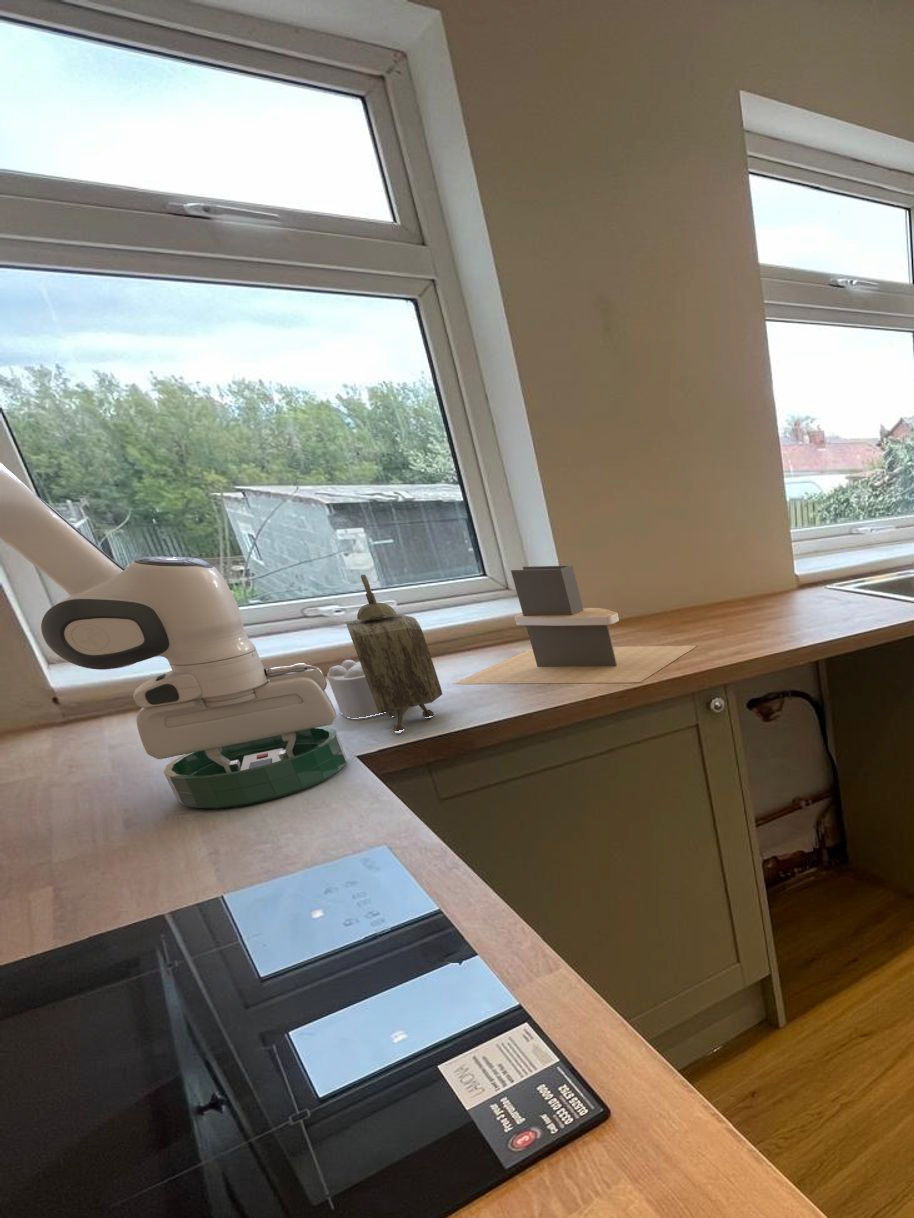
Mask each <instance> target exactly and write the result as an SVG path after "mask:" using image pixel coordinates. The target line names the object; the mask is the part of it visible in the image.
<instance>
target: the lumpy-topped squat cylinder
mask: <svg viewBox="0 0 914 1218" xmlns="http://www.w3.org/2000/svg"><path fill="white" fill-rule="evenodd" d="M326 677H327V680H328V682H329V686H330V689H331V690H332V693H333V696H334V699H335V701H336V704H337V706H338V709H339V712H340V714H341V713H342V714H343V715H342V714H341V715H342V716H343V717H344V718H346V719H348V720H352V721H360V720H367V719H372V718H376V717H379V716H383V715H386V713H383V714H380V715H376V716H373V717H368V718H362V719H351V718H359V717H366V716H370V715H375V714H379V712H378V710H377V707H376V704H375V702H374V699H373V696H372V694H371V691H370V688H369V685H368V683H367V680H366V677H365V674H364V672H363V669H362V666H361V663H360V661H354V660H352V659H345V660H344V661H342V662H341V664H340V665H333V666H330V667H329V669H328V673H327V674H326ZM410 708H411V707H408V709H410ZM345 716H346V717H345ZM347 717H350V718H347Z"/></svg>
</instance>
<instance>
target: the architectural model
mask: <svg viewBox="0 0 914 1218" xmlns="http://www.w3.org/2000/svg"><path fill="white" fill-rule="evenodd" d="M510 572H511V576H512V580H513V583H514V586H515V591H516V595H517V598H518V601H519V605H520V609H521V613H518V614H517V615H515V616H514V621H515V623H516V626H525V628H526V631H527V635H528V638H529V641H530V646H531V648H530V649H527V650H525V651H523V652H521V653H518V654H516V655H514V656H511V657H509V658H507V659H505V660H503V661H501V662H498V663H496V664H493V665H492V666H490V667H488V668H485V669H483V670H481V671H479V672H476V673H473V674H472V675H470V676H469V675H468V676H467V677H465V678H463V679H460V680H458V681H456V682H454V683H453V685H481V684H482V685H488V684H490V685H492V684H493V685H494V684H495V685H497V684H503V685H505V684H605V683H606V684H607V683H608V684H610V683H613V684H614V683H615V684H616V683H618V684H619V683H620V684H622V683H623V684H624V683H641V682H643V681H644V680H646V679H647V678H649V677H651V676H652V675H654V674H655V673H657V672H658V671H660V670H661V669H663V668H665V667H667V666H668V665H669V664H671V663H672V662H674V661H676V660H677V659H679V658H681V657H682V656H684V655H686V654H687V653H688V652H690V651H691V650H693V649H695V648H697V645H650V646H649V645H647V646H645V645H644V646H643V645H642V646H638V645H637V646H613V643H612V642H613V641H612V638H611V633H610V629H609V625H613V624H616V623H617V622H619V621H620V619H619V614H618V612H617V611H613V610H610V609H606V608H603V607H583V602H582V599H581V594H580V589H579V586H578V582H577V579H576V574H575V570H574V566H573V565H539V566H538V565H535V566H522V569H511V570H510Z"/></svg>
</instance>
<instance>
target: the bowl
mask: <svg viewBox="0 0 914 1218" xmlns="http://www.w3.org/2000/svg"><path fill="white" fill-rule="evenodd" d="M295 733H296V740H295V743H294V746H293V750H292V751H293V754H294V756H293V757H291V758H288V759H284V760H281V761H277V762H274V763H270V764H267V765H264V766H259V767H255V768H250V769H245V770H241V771H236V772H229V773H227V772H226V770H225V768H224V766H221V765H220V764H218V763H216V762H215V761H213V760H211V759H210V758H208V756H207V754H206V752H205V750H203V751H198V752H193V753H189V754H184V755H180V756H177V757H176V758H175V759H174V760H172V761H171V762H170V763H168V764H166V766H165V768H164V771H163V774H164V776H165V778H166V780H167V782H168V784H169V786H170V788H171V790H172V792H173V794H174V796H175V799H176V800H177V802H179V804H181V805H182V806H183V807H191V808H197V809H205V810H208V809H209V810H210V809H212V810H213V809H228V808H237V807H243V806H249V805H254V804H255V805H256V804H259V803H263V802H267V801H272V800H276V799H279V798H283V797H287V796H290V795H293V794H295V793H298V792H302V791H304V790H307V789H309V788H311V787H315V786H316V785H318V784H320V783H322V782H324V781H326V780H328V779H330V778H332V777H333V776H334V775H335V774H336V773H338V772H340V770H342V769H343V768H344V766H346V765H347V756H346V754H345V753H346V752H345V751H344V748H343V745H342V743H341V741H340V738H339V736H338V732H337V731H336V730H335V729H333V728H331V727H329V726H322V727H317V728H312V729H307V730H302V731H297V732H295ZM287 743H288V741H283V739H282V737H281V735H277V736H272V737H267V738H262V739H258V740H253V741H248V742H243V743H238V744H233V745H228V746H223V747H221V748H222V751H221V755H223V756H224V757H226V758H227V759H229V760H230V761H234V760H239V762H240V766H242V762H243V758H244V756H246V755H251V754H256V753H261V752H266V751H270V750H275V749H280V748H283V749H284V750H285V749H286V746H287Z"/></svg>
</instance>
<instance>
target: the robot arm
mask: <svg viewBox="0 0 914 1218" xmlns="http://www.w3.org/2000/svg"><path fill="white" fill-rule="evenodd" d="M0 541H2V542H3V543H5V544H7V545H8V546H9V547H10V548H11V549H13V550H14V551H16V553H18V554H19V555H20V556H22V557H23V558H25V559H26V560H27V561H28V562H29V563H31V564H32V566H34V567H35V568H37V569H38V570H39V571H40V572H42V573H43V574H44V575H45V576H47V577H48V578H49V579H51V580H52V581H53V582H54V583H56V584H57V585H58V586H59V587H60V588H61V589H63V590H64V591H65V592H66V593H67V594H68V597H66V598H63V599H61V600H59V601H58V602H56V603H55V604H54V605H53V606H51V607H50V608H49V609H48V610H47V611H46V612H45V613H44V615H43V617H42V620H41V623H40V630H41V635H42V637H43V640H44V641H45V644H46V645H47V646H48V648H49V649H50V650H51V651H52V652H53V653H54V654H56V655H57V656H58V657H60V658H61V659H63V660H64V661H66V662H68V663H70V664H72V665H75V666H78V667H81V668H85V669H90V670H97V671H98V670H101V671H103V670H104V671H105V670H116V669H122V668H126V667H129V666H133V665H135V664H137V663H140V662H143V661H147V660H150V659H152V658H157V657H160V658H161V657H162V658H165V659H166V660H167V662H168V663H169V666H170V668H171V670H170V671H167V672H165V673H163V674H161V675H157V676H156V677H153V678H151V679H148V680H146V681H144V682H143V683H141V684H140V685H139V686H138V687H136V689H135V690H134V692H133V695H132V697H133V700H134V703H135V704H136V705H137V706H138V707H139V708H140V710H139V711H138V713H137V715H136V727H137V731H138V735H139V738H140V742H141V743H142V746H143V748H144V751H145V753H146V754H147V755H148V756H150V757H152V758H155V759H157V760H164V759H168V758H173V757H180V756H183V755H185V754H189V753H193V752H198V751H203V750H205V752H206V754H207V756H208V758H210V759H211V760H213V761H215V762H216V763H218V764H220V765H221V766H224V768H225V770H226V772H227V773H229V772H236V771H240V770H241V766H240V762H239V760H234V761H230V760H229V759H227V758H226V757H224V756H223V755H221V751H222V748H221V747H223V746H228V745H233V744H238V743H243V742H248V741H253V740H258V739H262V738H267V737H272V736H277V735H281V737H282V739H283V741H288V743H287V746H286V749H285V750H281V751H279V752H278V756H279V758H280V759H281V760H284V759H288V758H291V757H293V756H294V754H293V751H292V750H293V746H294V743H295V740H296V733H295V732H297V731H302V730H307V729H312V728H317V727H328V726H330V725H332V724H334V722H335V720H336V719H337V712H336V709H335V707H334V705H333V702H332V701H331V699H330V696H329V695H328V693H327V692H326V689H327V685H328V683H327V680H326V677H325V673H324V672H323V670H321V669H320V668H319V667H317V666H315V665H310V664H307V663H304V662H303V663H301V662H300V663H294V664H293V665H287V666H286V665H284V666H276V667H269V668H265V667H264V665H263V662H262V660H261V657H260V654H259V653H258V651H257V648H256V646H255V644H254V643H253V641H252V640H251V639H250V638H249V637H248V635H247V634H246V630H245V626H244V617H243V614H242V611H241V609H240V607H239V605H238V603H237V600H236V599H235V596H234V594H233V592H232V591H231V589H230V587H229V585H228V583H227V581H226V580H225V578H224V577H223V576H222V574H221V572H220V571H219V570H218V569H217V568H216V567H215V566H214V564H211V563H210V562H208V561H205V560H204V559H201V558H195V557H191V556H181V555H159V556H155V555H154V556H153V555H152V556H145V557H140V558H136V559H134V560H133V561H131V563H130V564H129V565H128V566H127V567H125V566H123V565H121V564H120V563H119V562H117V561H116V560H115V559H114V558H112V557H111V556H110V555H109V554H107V552H105V551H104V550H103V549H102V548H100V547H99V546H98V545H97V544H96V543H95V542H94V541H92V540H91V539H90V538H89V537H88V536H86V535H85V534H84V533H83V532H81V530H79V528H77V527H76V526H75V525H74V524H72V523H71V522H70V521H69V520H67V518H66V517H64V516H63V515H62V514H61V513H59V512H58V511H57V510H56V509H55V508H53V507H52V506H51V505H50V504H48V502H46V501H45V500H43V499H42V498H41V497H40V496H39V495H38V494H36V493H35V492H33V491H32V490H31V488H29V487H28V486H27V485H26V484H25V483H24V482H23V481H22V480H20V479H19V478H18V477H17V476H16V475H15V474H14V473H13V472H11V471H10V470H9V469H8V468H7V467H6V466H5V465H4V464H3V463H2V462H0Z"/></svg>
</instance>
